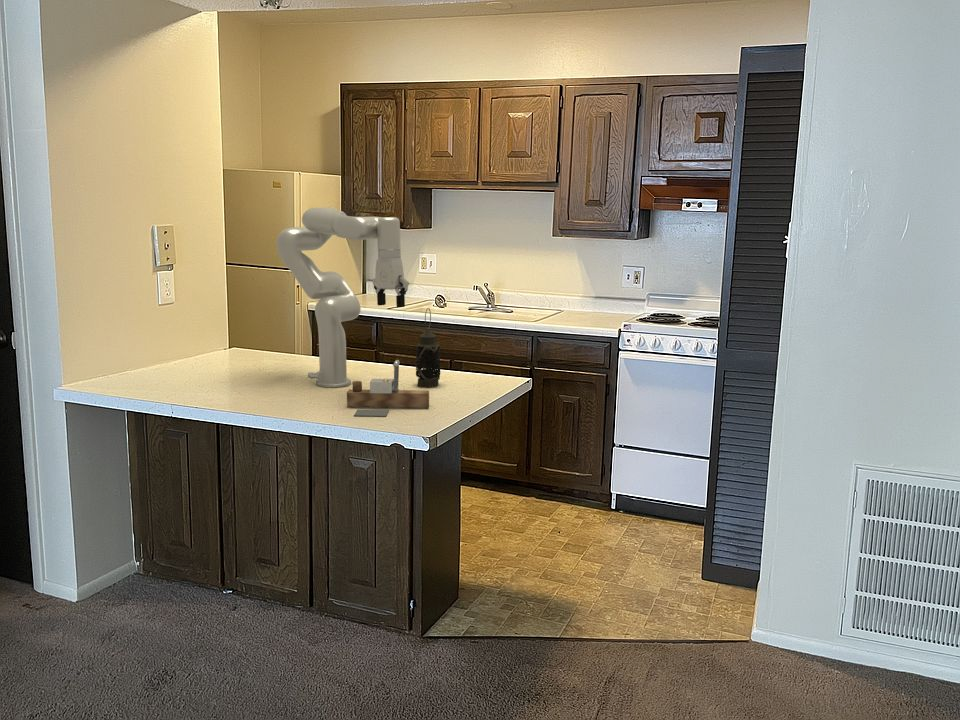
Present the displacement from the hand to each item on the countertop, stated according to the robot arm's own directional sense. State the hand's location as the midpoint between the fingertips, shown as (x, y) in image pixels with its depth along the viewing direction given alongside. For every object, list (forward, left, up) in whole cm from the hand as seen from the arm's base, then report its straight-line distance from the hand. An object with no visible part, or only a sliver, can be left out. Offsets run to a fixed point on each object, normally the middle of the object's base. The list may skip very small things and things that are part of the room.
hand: (391, 306), depth 286 cm
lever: (+3, -17, -24) cm, 30 cm away
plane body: (+1, -17, -30) cm, 35 cm away
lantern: (+11, +15, -31) cm, 36 cm away
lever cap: (-1, -17, -25) cm, 31 cm away
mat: (-3, -26, -30) cm, 40 cm away
